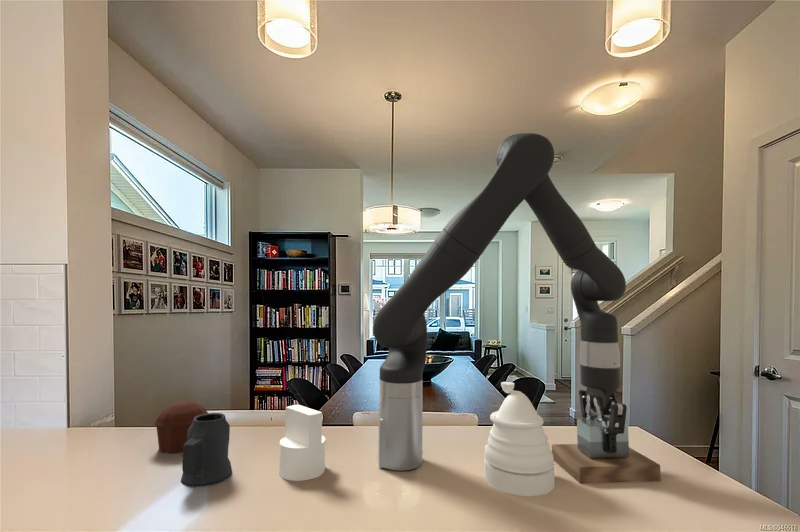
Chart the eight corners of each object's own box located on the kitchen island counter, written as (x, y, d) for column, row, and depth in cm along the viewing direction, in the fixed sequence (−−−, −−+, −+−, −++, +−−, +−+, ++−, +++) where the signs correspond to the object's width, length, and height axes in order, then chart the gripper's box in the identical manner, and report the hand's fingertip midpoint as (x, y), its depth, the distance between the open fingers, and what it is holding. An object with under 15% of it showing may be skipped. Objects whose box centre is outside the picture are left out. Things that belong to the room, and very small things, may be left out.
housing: (629, 456, 82) (627, 426, 82) (590, 457, 81) (589, 426, 82) (614, 447, 87) (613, 418, 87) (577, 448, 86) (576, 419, 87)
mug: (197, 465, 85) (199, 410, 85) (240, 467, 84) (242, 410, 85) (160, 493, 73) (163, 428, 74) (210, 495, 72) (213, 429, 73)
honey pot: (472, 482, 78) (472, 385, 79) (500, 461, 88) (499, 375, 89) (540, 503, 70) (538, 395, 71) (563, 477, 80) (561, 383, 82)
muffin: (181, 436, 102) (183, 395, 103) (218, 440, 99) (220, 398, 100) (139, 453, 91) (141, 407, 92) (180, 459, 88) (182, 411, 89)
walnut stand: (580, 483, 78) (579, 467, 78) (551, 458, 89) (551, 444, 90) (660, 481, 79) (660, 465, 79) (622, 457, 91) (621, 442, 91)
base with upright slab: (270, 471, 82) (271, 409, 83) (308, 458, 89) (309, 401, 90) (295, 485, 76) (296, 418, 77) (334, 470, 83) (335, 409, 84)
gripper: (639, 369, 79) (642, 461, 77) (598, 358, 93) (600, 435, 92) (601, 369, 78) (604, 462, 77) (565, 358, 92) (567, 436, 91)
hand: (602, 447), depth 84 cm, fingers closed on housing, 5 cm apart
